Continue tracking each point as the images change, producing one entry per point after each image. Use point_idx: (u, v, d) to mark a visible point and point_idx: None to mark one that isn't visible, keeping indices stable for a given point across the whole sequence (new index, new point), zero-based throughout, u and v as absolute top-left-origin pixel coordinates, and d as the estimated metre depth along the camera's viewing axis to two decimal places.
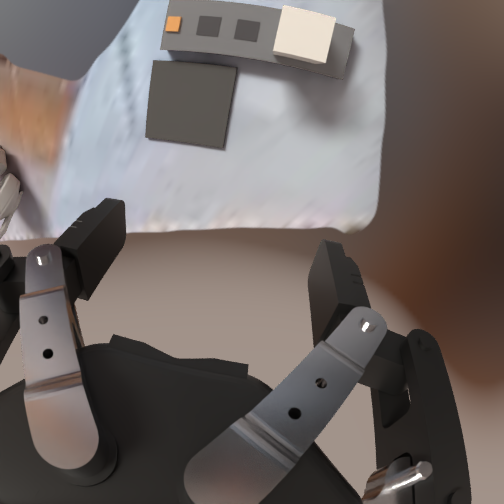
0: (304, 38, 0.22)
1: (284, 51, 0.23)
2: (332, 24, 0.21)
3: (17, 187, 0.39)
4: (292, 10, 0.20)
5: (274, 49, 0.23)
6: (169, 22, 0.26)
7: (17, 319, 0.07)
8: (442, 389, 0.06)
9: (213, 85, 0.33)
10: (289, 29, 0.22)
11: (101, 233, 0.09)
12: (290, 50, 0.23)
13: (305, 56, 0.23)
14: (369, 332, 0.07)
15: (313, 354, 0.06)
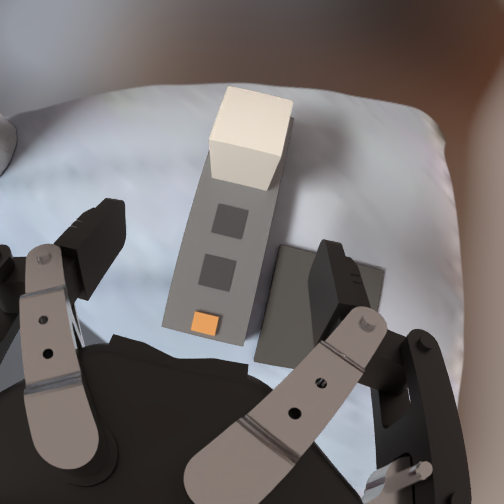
0: (261, 119, 0.20)
1: (282, 143, 0.20)
2: (237, 89, 0.20)
3: None
4: (217, 129, 0.19)
5: (279, 154, 0.19)
6: (201, 328, 0.24)
7: (17, 319, 0.07)
8: (442, 389, 0.06)
9: (303, 277, 0.28)
10: (248, 134, 0.19)
11: (100, 233, 0.09)
12: (280, 135, 0.20)
13: (287, 120, 0.20)
14: (369, 332, 0.07)
15: (313, 354, 0.06)
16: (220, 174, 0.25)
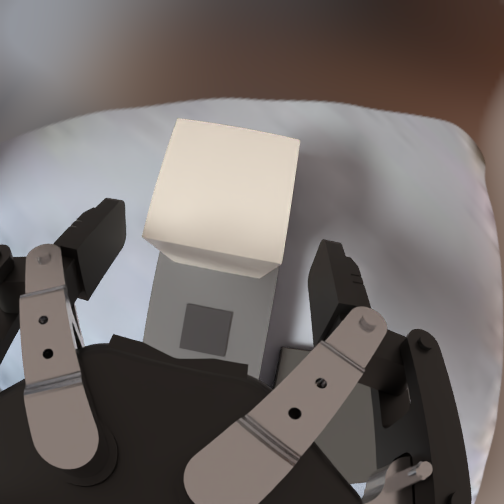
0: (240, 183, 0.11)
1: (282, 234, 0.11)
2: (195, 124, 0.11)
3: None
4: (158, 213, 0.10)
5: (278, 259, 0.10)
6: None
7: (17, 319, 0.07)
8: (442, 389, 0.06)
9: None
10: (216, 221, 0.10)
11: (101, 233, 0.09)
12: (278, 218, 0.11)
13: (290, 182, 0.11)
14: (369, 332, 0.07)
15: (313, 354, 0.06)
16: (185, 262, 0.16)
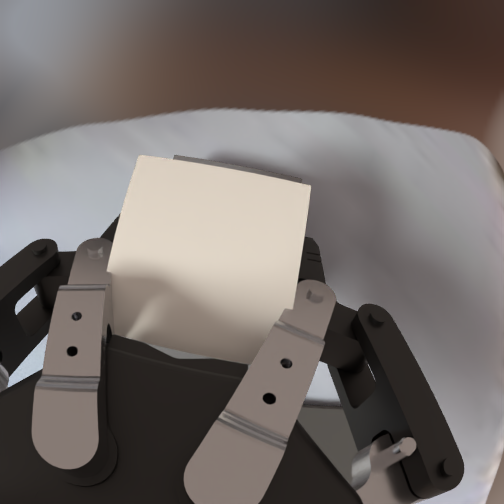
0: (225, 256, 0.08)
1: None
2: (162, 164, 0.08)
3: None
4: (114, 298, 0.07)
5: None
6: None
7: None
8: (405, 361, 0.07)
9: (316, 443, 0.15)
10: (191, 311, 0.07)
11: None
12: (279, 306, 0.08)
13: (297, 253, 0.08)
14: (315, 303, 0.08)
15: (271, 336, 0.06)
16: None
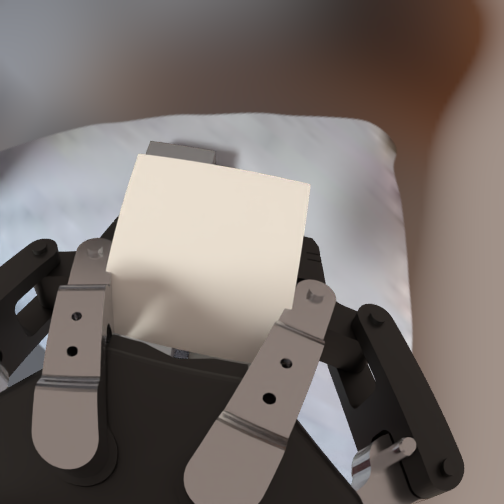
0: (225, 254, 0.08)
1: None
2: (162, 162, 0.08)
3: None
4: (113, 296, 0.07)
5: None
6: None
7: None
8: (405, 361, 0.07)
9: None
10: (191, 310, 0.07)
11: None
12: (278, 304, 0.08)
13: (296, 251, 0.08)
14: (315, 303, 0.08)
15: (271, 336, 0.06)
16: None
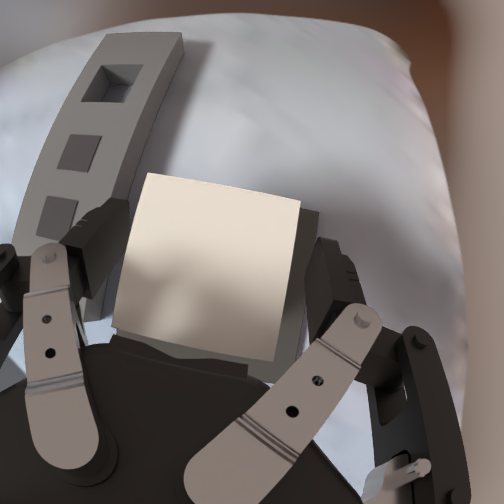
0: (225, 263, 0.09)
1: (275, 326, 0.09)
2: (169, 181, 0.09)
3: None
4: (127, 300, 0.08)
5: (269, 357, 0.08)
6: None
7: (21, 318, 0.07)
8: (438, 385, 0.06)
9: None
10: (196, 312, 0.09)
11: (105, 233, 0.10)
12: (271, 307, 0.09)
13: (287, 260, 0.09)
14: (364, 329, 0.07)
15: (309, 352, 0.06)
16: None
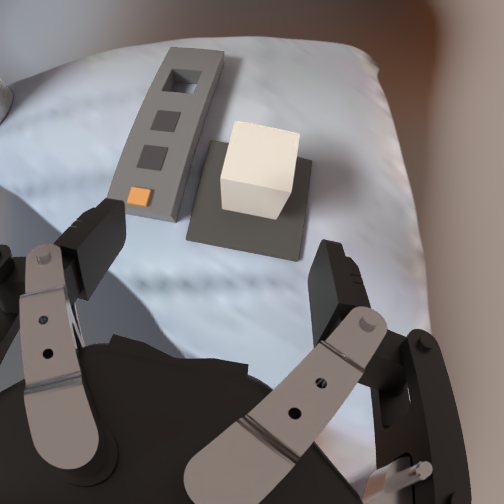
0: (270, 154, 0.21)
1: (291, 178, 0.21)
2: (245, 124, 0.21)
3: None
4: (228, 167, 0.20)
5: (289, 190, 0.20)
6: (135, 200, 0.26)
7: (17, 319, 0.07)
8: (442, 389, 0.06)
9: None
10: (258, 171, 0.21)
11: (100, 233, 0.09)
12: (289, 171, 0.21)
13: (295, 154, 0.21)
14: (369, 332, 0.07)
15: (313, 354, 0.06)
16: (231, 206, 0.26)
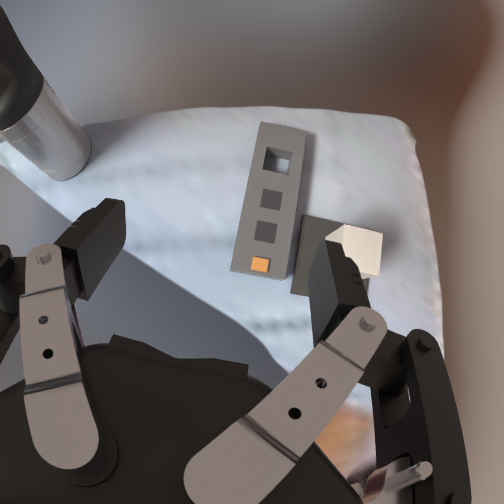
0: (366, 250, 0.32)
1: (378, 266, 0.32)
2: (351, 227, 0.32)
3: None
4: None
5: (378, 274, 0.32)
6: (258, 267, 0.38)
7: (17, 319, 0.07)
8: (442, 389, 0.06)
9: (319, 235, 0.41)
10: (360, 262, 0.32)
11: (101, 233, 0.09)
12: (377, 261, 0.32)
13: (380, 249, 0.32)
14: (369, 332, 0.07)
15: (313, 354, 0.06)
16: None
